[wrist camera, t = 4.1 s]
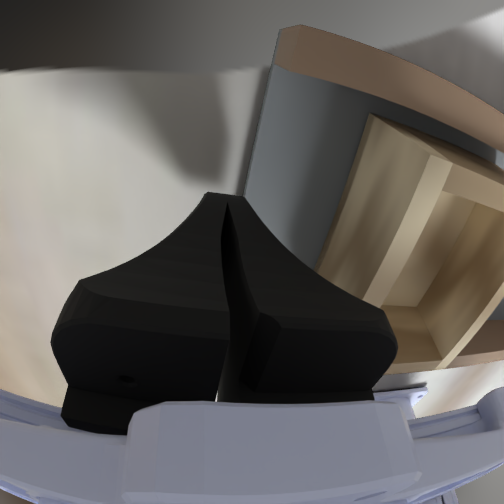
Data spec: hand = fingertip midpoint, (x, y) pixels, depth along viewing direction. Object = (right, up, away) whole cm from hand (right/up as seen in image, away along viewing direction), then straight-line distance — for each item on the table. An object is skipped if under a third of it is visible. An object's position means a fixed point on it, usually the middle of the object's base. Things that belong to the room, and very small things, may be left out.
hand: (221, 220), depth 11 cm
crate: (+7, 0, +3) cm, 8 cm away
